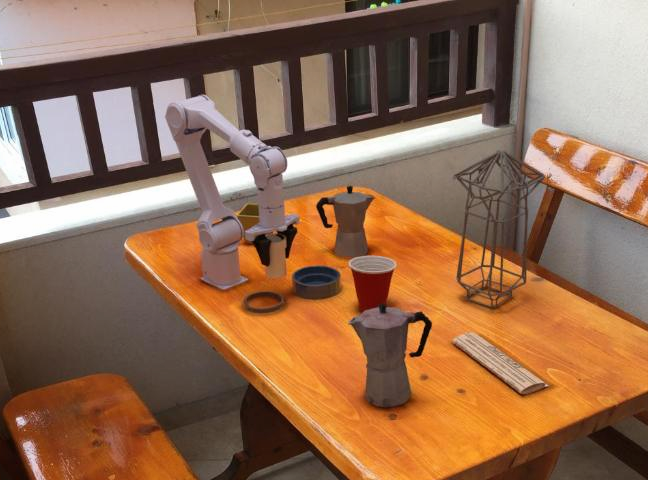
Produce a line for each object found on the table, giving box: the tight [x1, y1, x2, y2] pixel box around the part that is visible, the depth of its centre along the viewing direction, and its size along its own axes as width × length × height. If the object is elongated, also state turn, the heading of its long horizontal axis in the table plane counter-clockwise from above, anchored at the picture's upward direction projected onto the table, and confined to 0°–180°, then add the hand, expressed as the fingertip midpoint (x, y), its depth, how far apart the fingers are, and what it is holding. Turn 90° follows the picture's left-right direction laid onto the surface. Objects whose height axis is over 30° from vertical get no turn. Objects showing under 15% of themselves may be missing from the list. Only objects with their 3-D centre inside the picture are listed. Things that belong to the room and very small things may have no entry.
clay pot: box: [264, 233, 288, 280], centre depth 197 cm, size 6×6×9 cm
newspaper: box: [451, 332, 550, 395], centre depth 176 cm, size 24×7×2 cm, turn 28°
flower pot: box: [236, 203, 274, 245], centre depth 232 cm, size 9×9×9 cm
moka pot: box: [348, 303, 433, 408], centre depth 162 cm, size 10×15×20 cm, turn 95°
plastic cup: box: [348, 255, 397, 313], centre depth 196 cm, size 11×11×12 cm
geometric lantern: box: [452, 150, 546, 309], centre depth 193 cm, size 16×16×35 cm
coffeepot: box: [315, 185, 376, 259], centre depth 222 cm, size 15×9×18 cm, turn 103°
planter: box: [291, 264, 342, 300], centre depth 207 cm, size 12×12×4 cm
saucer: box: [242, 290, 285, 314], centre depth 201 cm, size 9×10×2 cm
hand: (275, 261), depth 198 cm, fingers closed on clay pot, 5 cm apart
